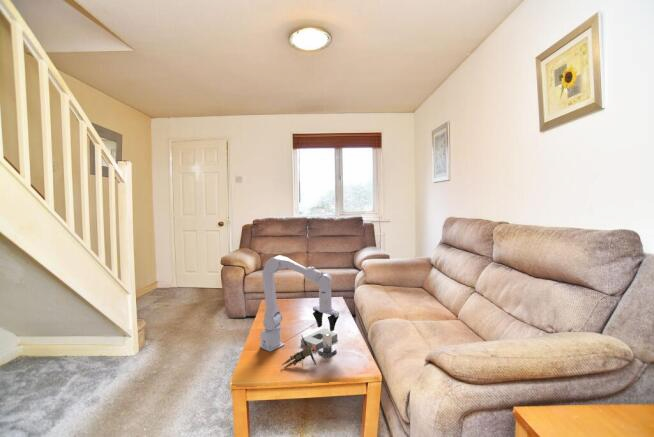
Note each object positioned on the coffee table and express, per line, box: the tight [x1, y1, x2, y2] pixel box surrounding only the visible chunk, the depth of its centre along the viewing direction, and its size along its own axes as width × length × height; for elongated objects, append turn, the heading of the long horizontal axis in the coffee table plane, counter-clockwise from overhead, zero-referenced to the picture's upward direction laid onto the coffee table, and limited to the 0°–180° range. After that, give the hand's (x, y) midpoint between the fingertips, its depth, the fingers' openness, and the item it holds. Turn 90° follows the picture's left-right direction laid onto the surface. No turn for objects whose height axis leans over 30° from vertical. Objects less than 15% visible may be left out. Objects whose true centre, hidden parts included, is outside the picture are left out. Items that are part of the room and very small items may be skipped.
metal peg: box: [323, 333, 333, 352], centre depth 139 cm, size 4×4×7 cm
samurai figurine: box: [275, 322, 318, 370], centre depth 130 cm, size 16×10×20 cm
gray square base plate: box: [317, 347, 338, 358], centre depth 139 cm, size 6×6×2 cm
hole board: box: [300, 328, 338, 352], centre depth 150 cm, size 16×10×3 cm, turn 139°
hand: (325, 328), depth 141 cm, fingers open, 7 cm apart
